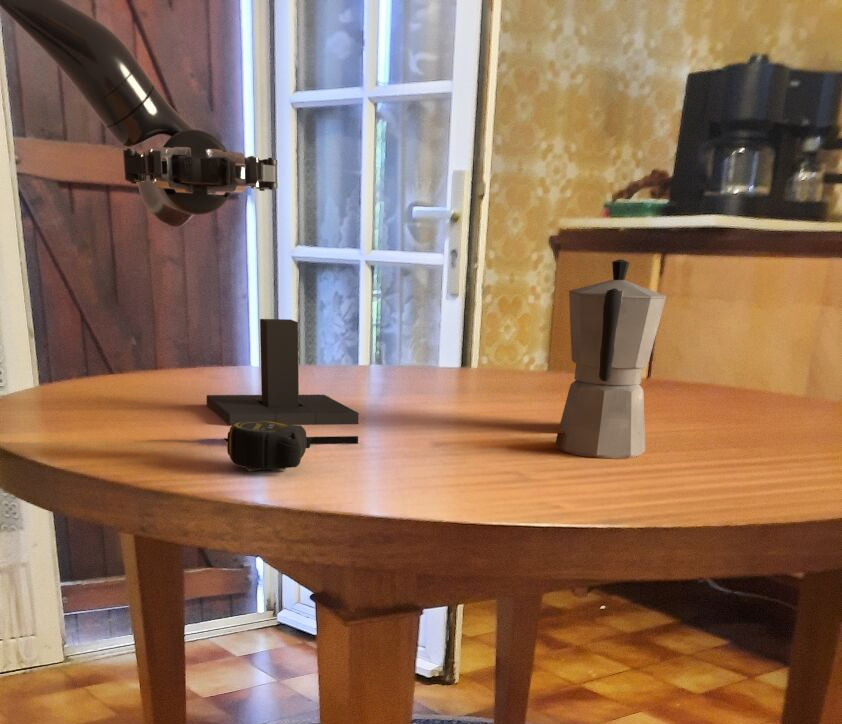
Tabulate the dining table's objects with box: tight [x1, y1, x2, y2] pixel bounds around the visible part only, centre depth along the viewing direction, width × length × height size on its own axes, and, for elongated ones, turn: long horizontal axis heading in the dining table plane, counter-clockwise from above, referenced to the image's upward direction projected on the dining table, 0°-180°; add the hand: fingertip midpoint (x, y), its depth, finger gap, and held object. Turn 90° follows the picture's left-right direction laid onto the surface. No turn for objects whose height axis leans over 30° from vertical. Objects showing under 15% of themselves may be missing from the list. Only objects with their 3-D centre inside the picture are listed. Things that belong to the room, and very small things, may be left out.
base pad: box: [206, 394, 360, 445], centre depth 111 cm, size 13×13×3 cm
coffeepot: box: [554, 258, 667, 459], centre depth 106 cm, size 15×9×18 cm, turn 167°
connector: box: [259, 318, 300, 407], centre depth 109 cm, size 3×3×11 cm
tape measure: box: [226, 421, 312, 472], centre depth 94 cm, size 7×7×4 cm
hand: (206, 167), depth 96 cm, fingers open, 8 cm apart
